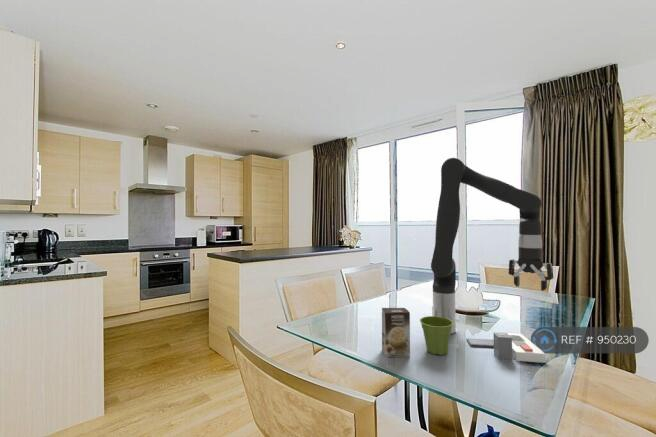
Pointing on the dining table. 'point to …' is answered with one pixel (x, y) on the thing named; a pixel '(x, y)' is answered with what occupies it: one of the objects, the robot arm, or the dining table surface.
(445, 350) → the plant pot
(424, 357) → the dining table surface
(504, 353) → the block
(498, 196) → the robot arm
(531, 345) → the power strip
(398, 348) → the coffee box
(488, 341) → the phone
